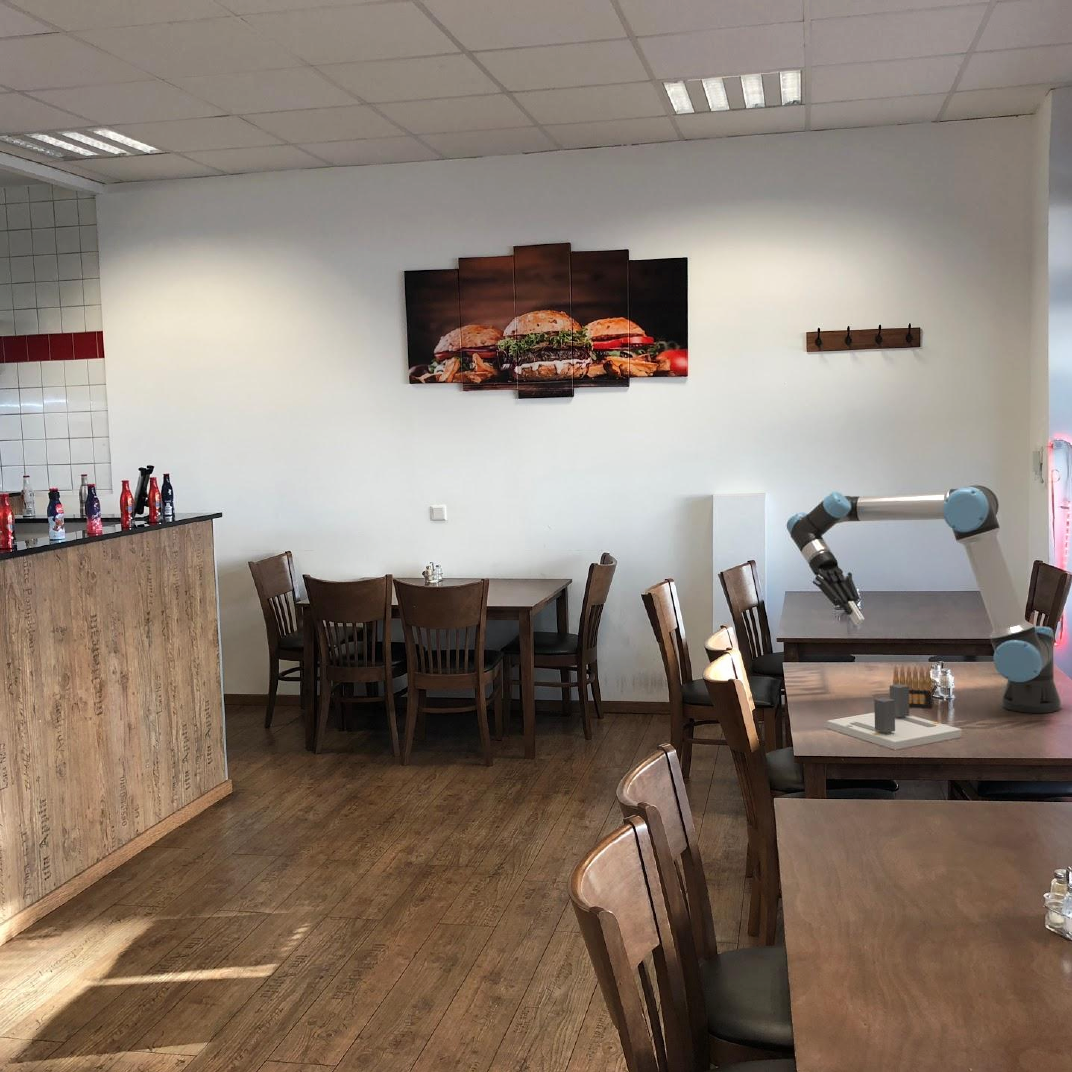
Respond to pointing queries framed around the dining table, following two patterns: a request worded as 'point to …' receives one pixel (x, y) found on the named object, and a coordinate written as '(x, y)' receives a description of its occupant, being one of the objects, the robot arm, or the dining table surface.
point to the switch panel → (904, 736)
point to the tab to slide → (900, 699)
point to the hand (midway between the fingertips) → (859, 622)
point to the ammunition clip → (916, 686)
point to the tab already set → (884, 715)
